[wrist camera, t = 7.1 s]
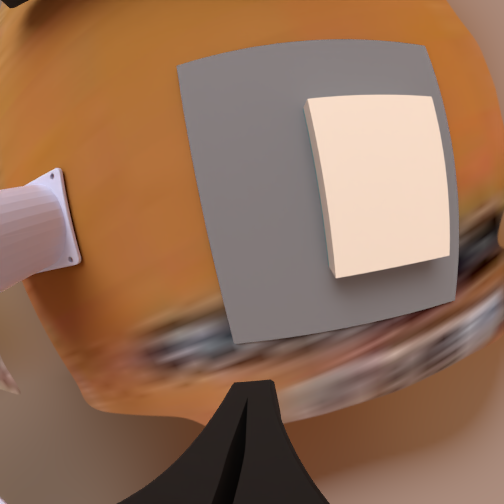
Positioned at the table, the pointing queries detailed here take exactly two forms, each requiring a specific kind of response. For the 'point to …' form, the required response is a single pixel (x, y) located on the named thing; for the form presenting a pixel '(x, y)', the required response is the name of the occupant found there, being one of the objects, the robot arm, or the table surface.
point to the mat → (298, 184)
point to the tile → (379, 180)
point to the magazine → (13, 3)
